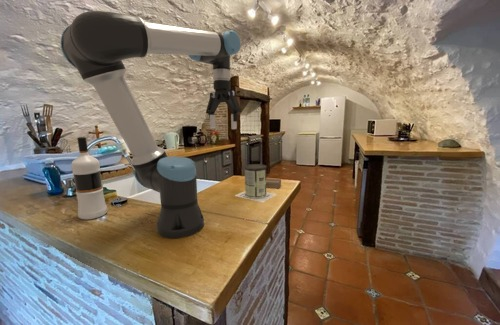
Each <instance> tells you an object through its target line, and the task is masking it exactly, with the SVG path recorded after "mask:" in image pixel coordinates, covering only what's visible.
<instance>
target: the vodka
mask: <svg viewBox="0 0 500 325" xmlns="http://www.w3.org/2000/svg"><path fill="white" fill-rule="evenodd" d="M76 139H77V144H78V151H79V156H77V157H76V158H75V159H73V160H72V162H71V165H70V167H71V170H72V175H73V180H74V186H75V187H74V188H75V191H76V192H75V195H76V199H77V207H78V208H77V217H78V218H79V219H80V220H87V221H89V220H94V219H98V218H101V217H103V216H105V215H106V214H107V212H108V210H109V209H108V206H107V203H106V199H105V196H104V188H103V182H102V176H101V167H100V166H101V164H100V161H99V159H98V158H96V157H94V156H92V155H90V154H89V148H88V142H87V137H84V136H81V137H76Z"/></svg>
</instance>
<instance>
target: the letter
mask: <svg viewBox="0 0 500 325" xmlns="http://www.w3.org/2000/svg"><path fill="white" fill-rule="evenodd" d="M277 195H278V194H277V193H273V192H268V191H266V196H265V197H263V198H248V197H246V196H245V190H244V191H241V192H239V193H237V194H235V195H234V197H237V198H242V199H245V200H246V199H247V200H249V201H255V202H258V203H265V202H267V201H268V200H270V199H272V198H273V197H276V196H277Z"/></svg>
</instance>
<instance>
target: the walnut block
mask: <svg viewBox="0 0 500 325" xmlns="http://www.w3.org/2000/svg"><path fill="white" fill-rule="evenodd" d="M281 185H282V179H281V178H274V177H266V189H273V190H276V189H277V190H280V188H281Z"/></svg>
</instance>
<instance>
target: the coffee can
mask: <svg viewBox="0 0 500 325" xmlns="http://www.w3.org/2000/svg"><path fill="white" fill-rule="evenodd" d="M266 178H267V165H265V164H261V163H260V164H259V163H252V164H246V165H244V191H245V196H246V197H248V198H263V197H265V196H266V192H267V188H266Z"/></svg>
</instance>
